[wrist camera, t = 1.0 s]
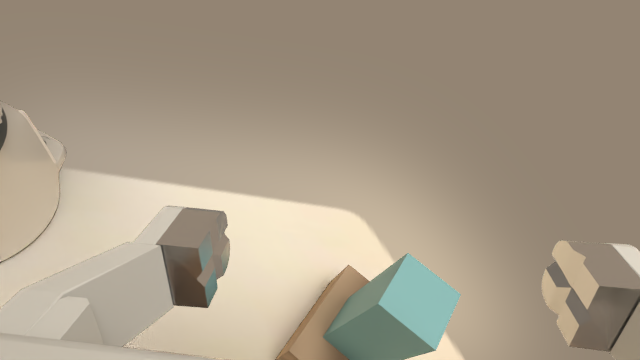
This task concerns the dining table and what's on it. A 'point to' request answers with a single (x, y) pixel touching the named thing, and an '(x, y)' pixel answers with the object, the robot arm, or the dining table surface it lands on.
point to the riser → (323, 320)
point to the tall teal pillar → (394, 314)
